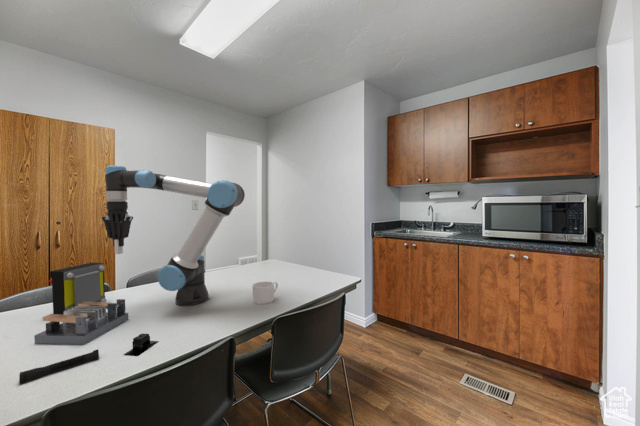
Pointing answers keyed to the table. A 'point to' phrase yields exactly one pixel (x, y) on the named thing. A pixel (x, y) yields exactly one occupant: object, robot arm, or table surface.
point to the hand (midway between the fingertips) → (118, 253)
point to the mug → (264, 292)
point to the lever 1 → (61, 318)
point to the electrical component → (77, 286)
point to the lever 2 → (93, 304)
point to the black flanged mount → (140, 345)
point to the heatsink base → (84, 324)
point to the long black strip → (57, 366)
